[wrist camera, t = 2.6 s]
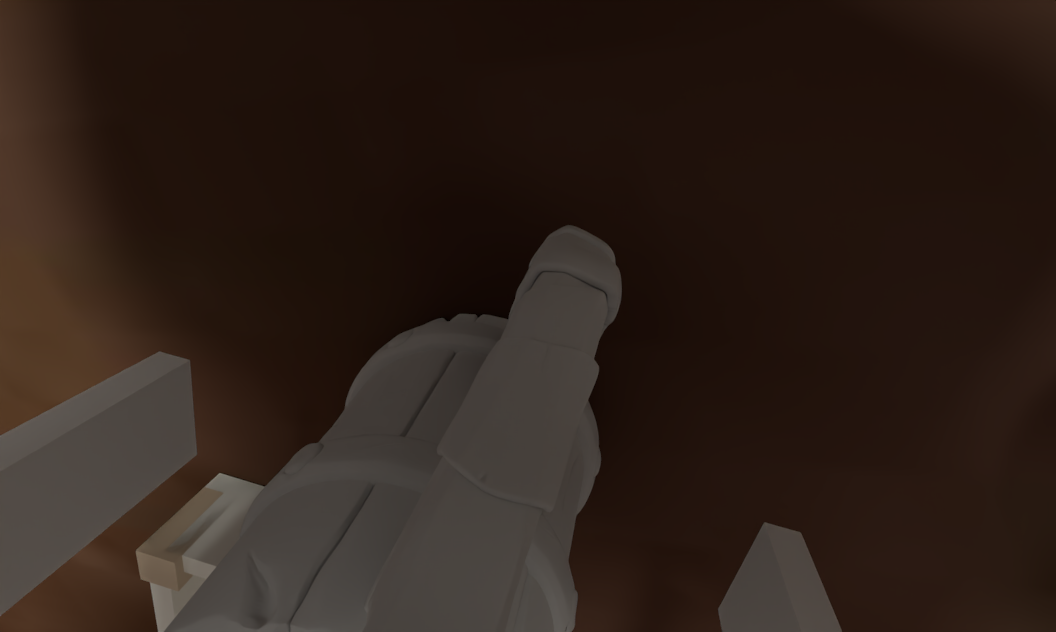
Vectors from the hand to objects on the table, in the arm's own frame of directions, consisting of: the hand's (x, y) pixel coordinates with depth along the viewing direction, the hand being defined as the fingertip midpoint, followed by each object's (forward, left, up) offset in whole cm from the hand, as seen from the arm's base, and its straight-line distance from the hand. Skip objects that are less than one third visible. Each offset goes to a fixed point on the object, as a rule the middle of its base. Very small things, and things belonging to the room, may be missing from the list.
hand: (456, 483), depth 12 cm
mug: (0, 0, -5) cm, 5 cm away
